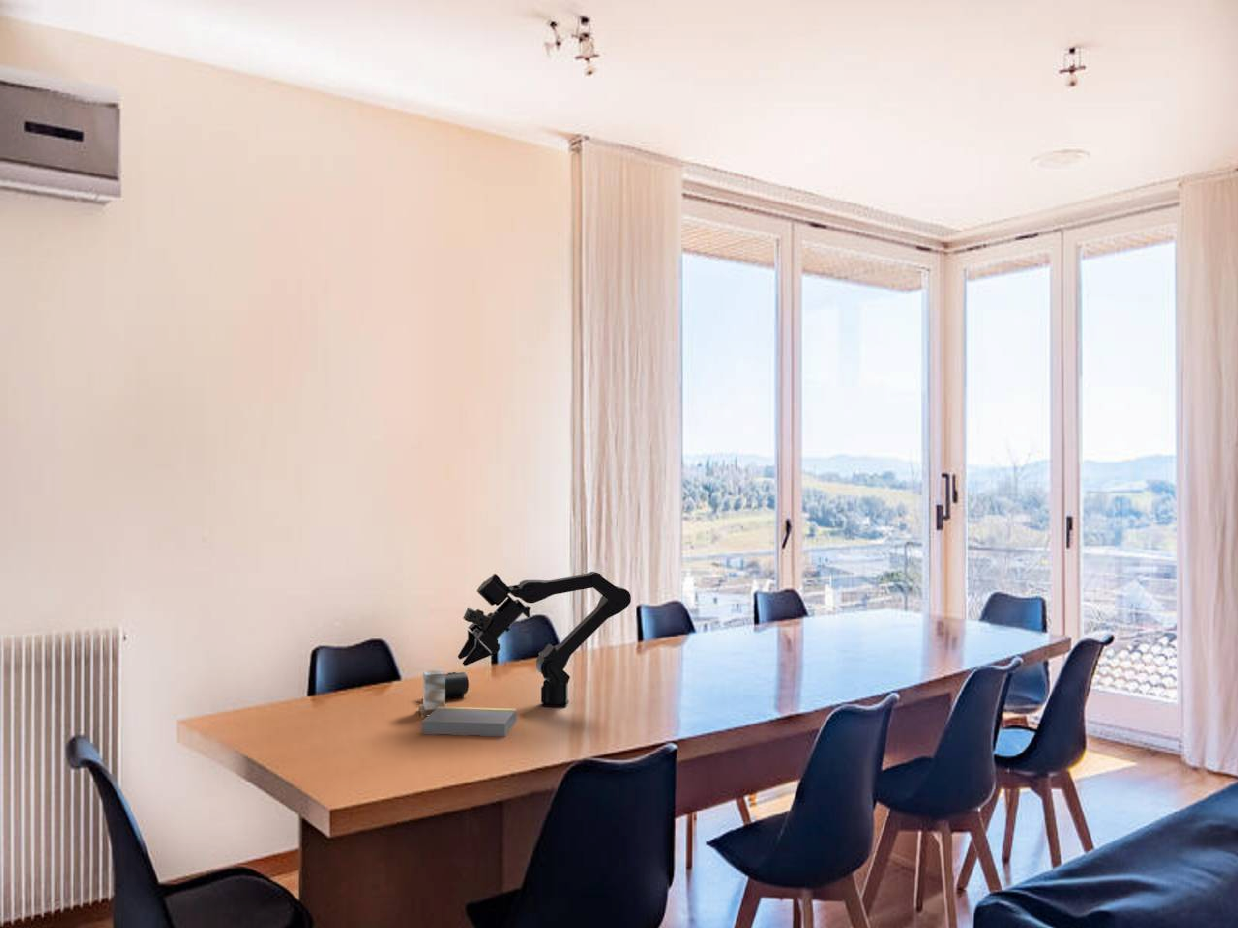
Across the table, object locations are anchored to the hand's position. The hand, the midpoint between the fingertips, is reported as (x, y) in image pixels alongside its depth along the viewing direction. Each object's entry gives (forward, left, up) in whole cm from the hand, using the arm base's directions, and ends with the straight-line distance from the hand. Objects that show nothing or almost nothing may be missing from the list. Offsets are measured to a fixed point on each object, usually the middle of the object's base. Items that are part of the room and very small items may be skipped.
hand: (461, 661), depth 244 cm
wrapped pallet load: (+6, +3, -13) cm, 15 cm away
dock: (-7, +16, -13) cm, 21 cm away
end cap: (+7, -14, -13) cm, 21 cm away
